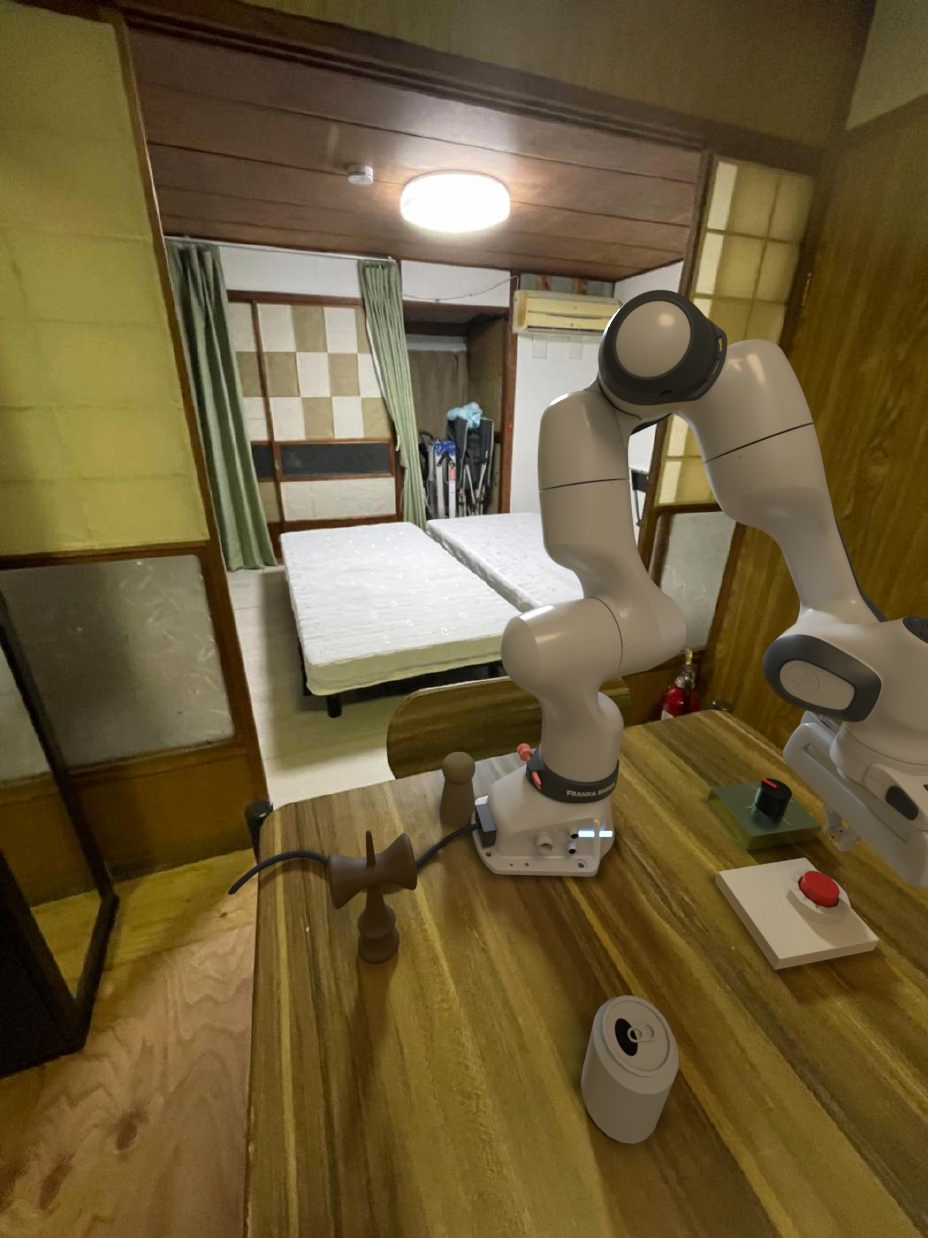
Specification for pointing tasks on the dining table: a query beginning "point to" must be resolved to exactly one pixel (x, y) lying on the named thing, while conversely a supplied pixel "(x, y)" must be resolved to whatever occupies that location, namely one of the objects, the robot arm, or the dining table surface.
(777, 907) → the white button base
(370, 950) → the kendama
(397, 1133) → the dining table surface
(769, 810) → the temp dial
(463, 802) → the brown wooden peg doll
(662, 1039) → the can
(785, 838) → the dial plate
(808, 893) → the power button
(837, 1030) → the dining table surface
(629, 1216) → the dining table surface
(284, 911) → the dining table surface
